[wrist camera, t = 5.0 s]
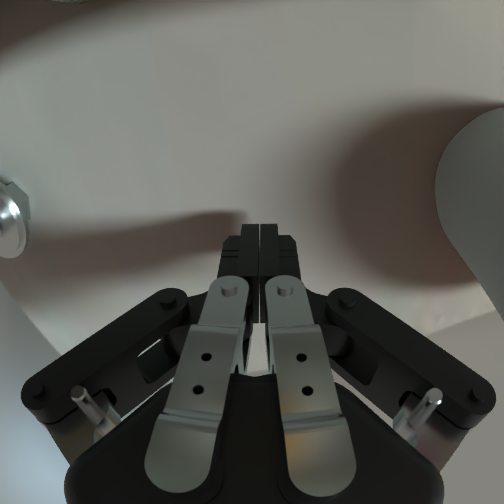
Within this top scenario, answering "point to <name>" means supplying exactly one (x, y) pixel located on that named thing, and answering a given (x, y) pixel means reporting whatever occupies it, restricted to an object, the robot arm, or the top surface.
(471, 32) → the top surface
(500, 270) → the lumpy-topped squat cylinder
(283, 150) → the top surface
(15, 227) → the screw
